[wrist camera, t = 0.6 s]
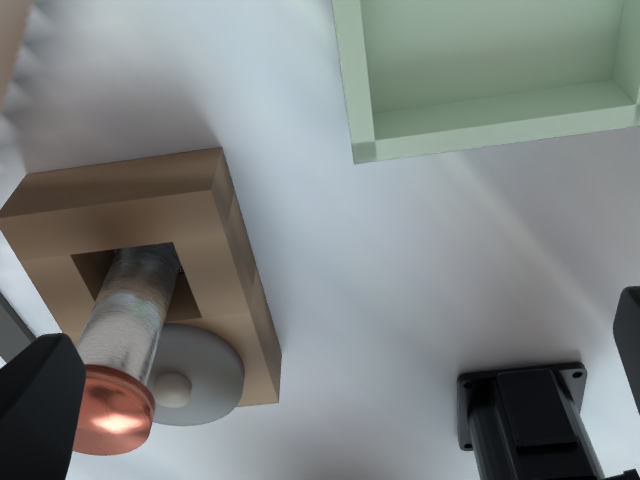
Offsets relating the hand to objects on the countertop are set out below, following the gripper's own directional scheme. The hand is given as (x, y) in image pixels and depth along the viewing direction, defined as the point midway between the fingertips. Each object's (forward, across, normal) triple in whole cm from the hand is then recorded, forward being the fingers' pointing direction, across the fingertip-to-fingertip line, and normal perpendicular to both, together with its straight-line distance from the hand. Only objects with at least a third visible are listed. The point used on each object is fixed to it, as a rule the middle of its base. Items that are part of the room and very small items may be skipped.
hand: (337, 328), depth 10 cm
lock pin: (+14, +8, +8) cm, 18 cm away
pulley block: (+14, +8, +10) cm, 19 cm away
